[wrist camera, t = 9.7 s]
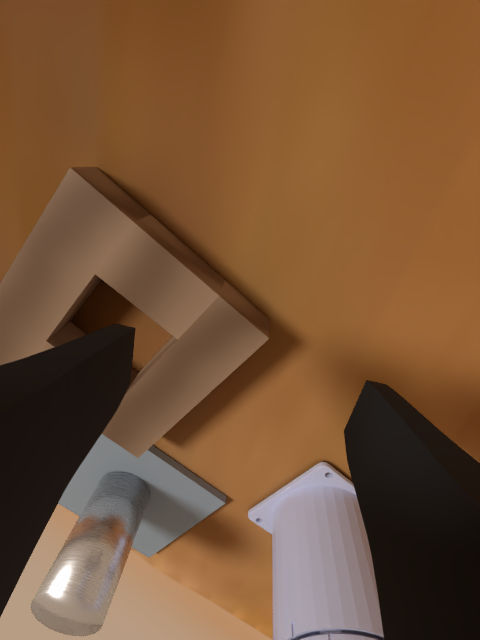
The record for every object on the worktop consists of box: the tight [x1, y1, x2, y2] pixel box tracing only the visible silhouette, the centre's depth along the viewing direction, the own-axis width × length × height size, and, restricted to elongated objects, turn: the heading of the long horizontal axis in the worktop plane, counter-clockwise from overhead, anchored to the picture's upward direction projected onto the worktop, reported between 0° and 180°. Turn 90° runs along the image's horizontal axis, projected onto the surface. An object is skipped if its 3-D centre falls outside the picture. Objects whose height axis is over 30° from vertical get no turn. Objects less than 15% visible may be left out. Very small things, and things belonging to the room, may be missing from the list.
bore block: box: [0, 167, 269, 458], centre depth 20 cm, size 12×12×2 cm
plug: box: [31, 471, 150, 636], centre depth 22 cm, size 4×4×8 cm
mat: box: [58, 434, 226, 558], centre depth 26 cm, size 12×10×1 cm
